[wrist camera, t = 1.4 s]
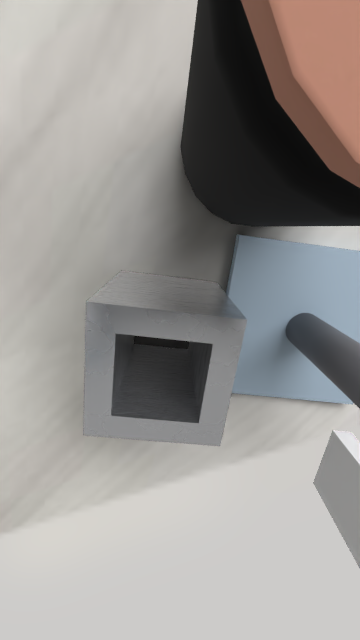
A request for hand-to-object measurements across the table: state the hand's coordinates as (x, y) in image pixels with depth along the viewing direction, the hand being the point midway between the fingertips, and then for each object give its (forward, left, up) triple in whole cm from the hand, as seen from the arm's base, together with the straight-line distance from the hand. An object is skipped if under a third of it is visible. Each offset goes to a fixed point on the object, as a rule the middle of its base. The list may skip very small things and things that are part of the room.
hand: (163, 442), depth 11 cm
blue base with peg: (+12, +1, -14) cm, 19 cm away
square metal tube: (0, 0, -14) cm, 14 cm away
